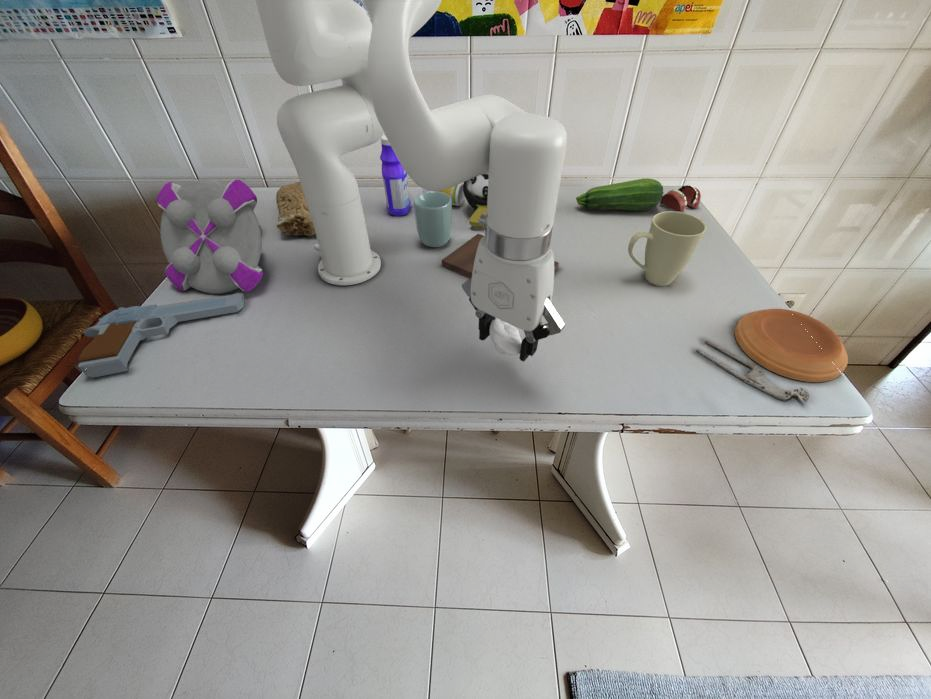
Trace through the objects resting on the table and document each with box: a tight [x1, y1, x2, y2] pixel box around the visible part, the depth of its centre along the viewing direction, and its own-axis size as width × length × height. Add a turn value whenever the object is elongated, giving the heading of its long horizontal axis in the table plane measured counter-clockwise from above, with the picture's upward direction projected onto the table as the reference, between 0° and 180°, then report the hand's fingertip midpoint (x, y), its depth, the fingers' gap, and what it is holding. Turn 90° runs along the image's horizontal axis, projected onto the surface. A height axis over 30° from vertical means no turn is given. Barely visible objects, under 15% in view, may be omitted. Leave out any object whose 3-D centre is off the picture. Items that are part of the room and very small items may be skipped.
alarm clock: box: [463, 173, 489, 228], centre depth 99 cm, size 12×15×15 cm
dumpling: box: [489, 318, 522, 356], centre depth 61 cm, size 7×5×4 cm
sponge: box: [275, 181, 316, 237], centre depth 100 cm, size 13×8×20 cm
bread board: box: [441, 233, 560, 279], centre depth 86 cm, size 20×13×2 cm, turn 54°
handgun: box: [77, 292, 245, 379], centre depth 72 cm, size 4×25×15 cm
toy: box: [156, 179, 264, 295], centre depth 83 cm, size 25×25×15 cm
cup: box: [413, 191, 453, 248], centre depth 90 cm, size 8×8×10 cm
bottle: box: [379, 133, 412, 216], centre depth 99 cm, size 7×6×17 cm
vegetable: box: [575, 178, 665, 212], centre depth 101 cm, size 7×7×20 cm
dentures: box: [659, 184, 702, 213], centre depth 103 cm, size 6×5×9 cm
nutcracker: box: [695, 340, 811, 406], centre depth 65 cm, size 16×1×5 cm
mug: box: [627, 210, 707, 287], centre depth 79 cm, size 11×10×12 cm
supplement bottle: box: [422, 182, 465, 207], centre depth 106 cm, size 5×5×10 cm
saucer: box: [734, 308, 849, 383], centre depth 69 cm, size 16×16×3 cm
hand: (506, 344), depth 62 cm, fingers closed on dumpling, 6 cm apart
